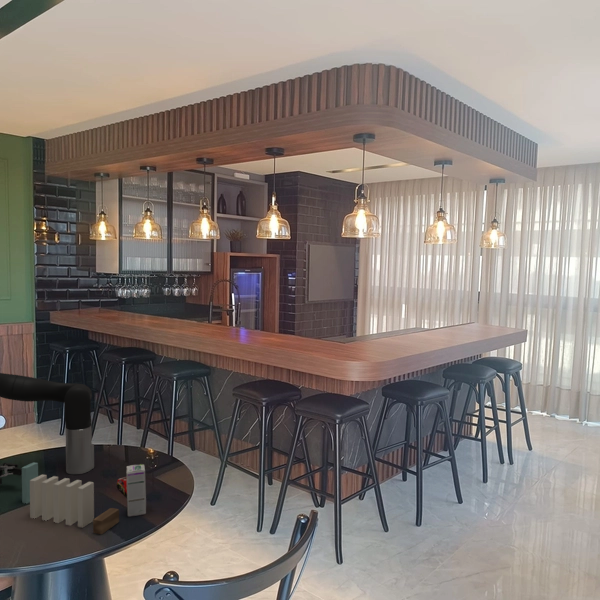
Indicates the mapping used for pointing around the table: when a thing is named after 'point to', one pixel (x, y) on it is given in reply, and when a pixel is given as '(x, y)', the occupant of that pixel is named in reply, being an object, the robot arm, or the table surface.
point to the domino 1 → (28, 480)
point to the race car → (122, 485)
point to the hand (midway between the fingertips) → (11, 476)
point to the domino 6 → (85, 504)
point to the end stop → (105, 521)
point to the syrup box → (136, 490)
